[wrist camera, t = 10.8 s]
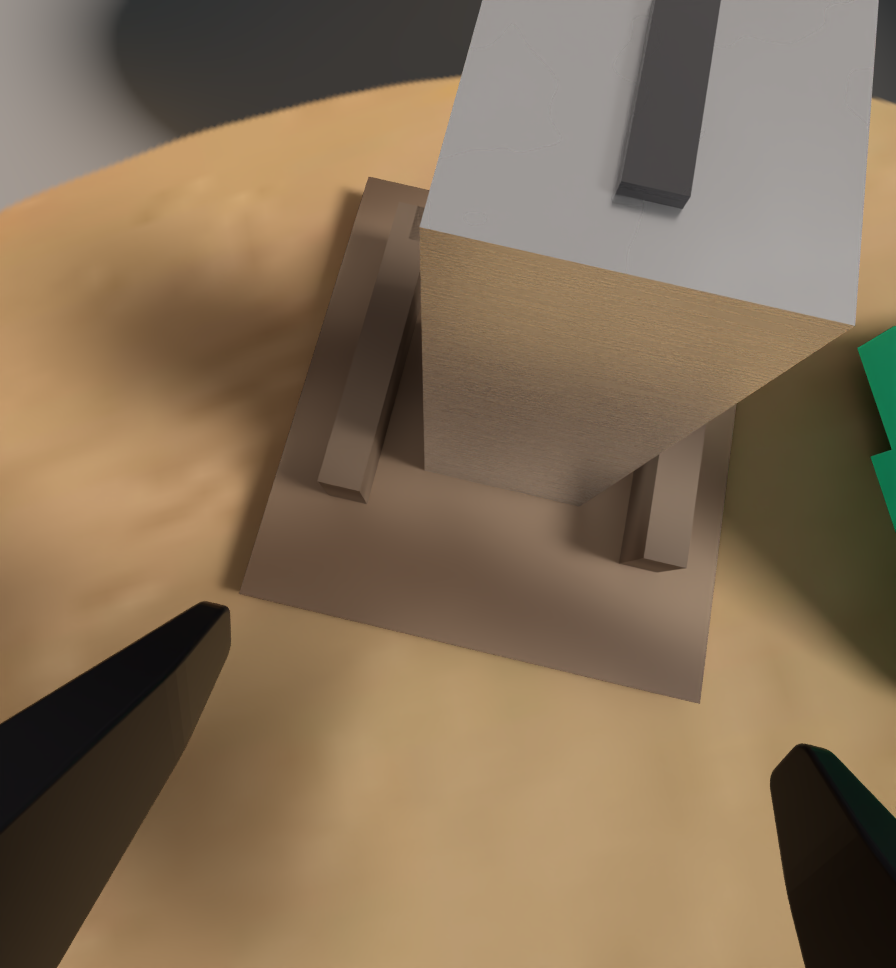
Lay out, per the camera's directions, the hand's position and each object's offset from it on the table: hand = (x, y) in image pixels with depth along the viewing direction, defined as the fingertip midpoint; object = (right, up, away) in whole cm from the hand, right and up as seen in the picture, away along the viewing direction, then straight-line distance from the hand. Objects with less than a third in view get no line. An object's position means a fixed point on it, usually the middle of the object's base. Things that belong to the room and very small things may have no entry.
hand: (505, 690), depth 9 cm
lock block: (+1, +5, +9) cm, 11 cm away
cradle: (+1, +5, +10) cm, 12 cm away
